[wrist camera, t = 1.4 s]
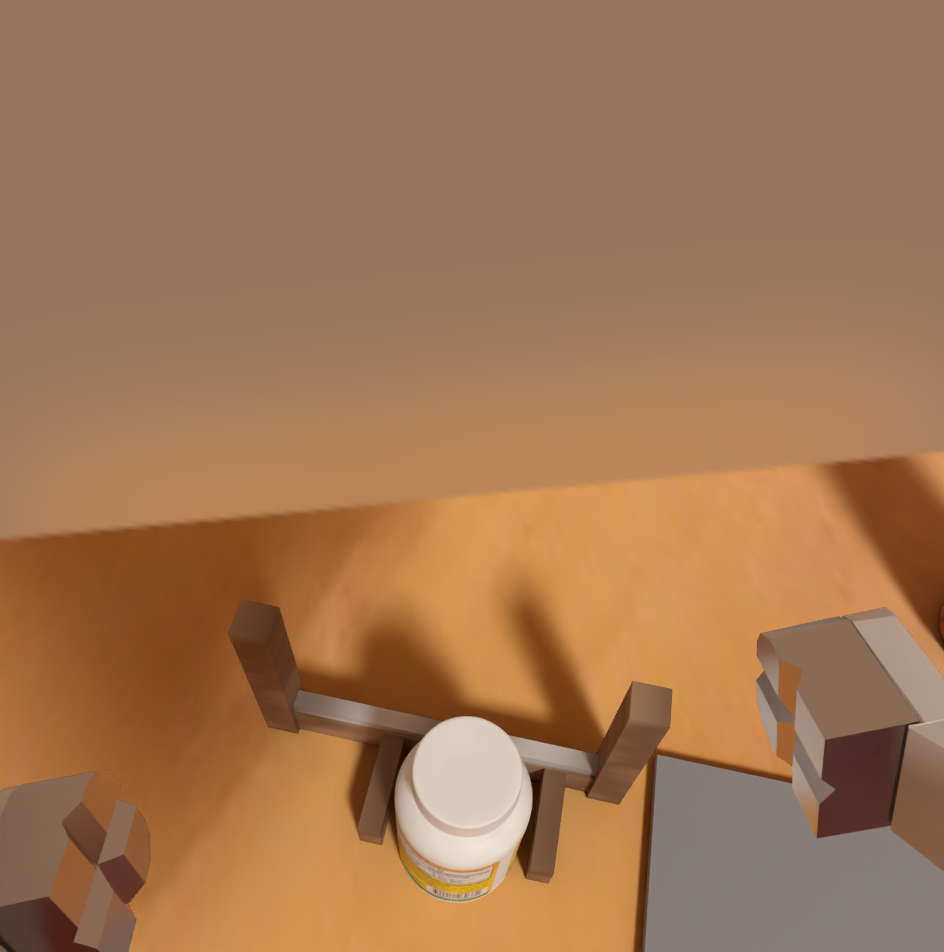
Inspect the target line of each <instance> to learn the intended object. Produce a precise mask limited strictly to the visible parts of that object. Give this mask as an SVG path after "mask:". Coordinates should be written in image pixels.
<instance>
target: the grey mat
mask: <svg viewBox="0 0 944 952" xmlns="http://www.w3.org/2000/svg"><path fill="white" fill-rule="evenodd" d="M890 829H891V826H887V827H881V828H875V829H869V830H863V831H857V832H851V833H846V834H840V835H834V836H828V837H822V838H816V836H815V834H814V832H813V830H812V828H811V826H810V824H809V822H808V820H807V818H806V816H805V814H804V812H803V810H802V808H801V806H800V804H799V801H798V799H797V797H796V795H795V793H794V791H793V789H792V783H788V782H783V781H778V780H774V779H769V778H765V777H760V776H755V775H751V774H746V773H741V772H737V771H732V770H727V769H723V768H718V767H713V766H709V765H704V764H699V763H695V762H690V761H686V760H681V759H676V758H672V757H667V756H662V755H658V754H657V756H656V757H655V760H654V775H653V790H652V805H651V820H650V835H649V850H648V865H647V881H646V896H645V911H644V926H643V941H642V952H944V871H942V870H941V869H940V868H939V867H937V866H936V865H935V864H933V863H932V862H931V861H930V860H928V859H927V858H926V857H925V856H923V855H922V854H921V853H919V852H918V851H917V850H916V849H914V848H913V847H912V846H910V845H909V844H908V843H907V842H905V841H904V840H903V839H902V838H900V837H899V836H898V835H896V834H895V833H894V832H893V831H891V830H890Z"/></svg>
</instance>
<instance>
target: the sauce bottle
mask: <svg viewBox="0 0 944 952" xmlns="http://www.w3.org/2000/svg"><path fill="white" fill-rule="evenodd" d="M939 626H940V628H939V629H940V632H941V635H942V638H943V640H944V605H943V606H942V612H941V615H940V624H939Z"/></svg>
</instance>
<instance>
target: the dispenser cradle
mask: <svg viewBox="0 0 944 952" xmlns="http://www.w3.org/2000/svg"><path fill="white" fill-rule="evenodd" d="M228 634H229V637H230V639H231V641H232V644H233V646H234V648H235V651H236V653H237V655H238V658H239V660H240V662H241V665H242V667H243V669H244V672H245V674H246V676H247V679H248V681H249V683H250V686H251V688H252V690H253V693H254V695H255V697H256V700H257V702H258V704H259V707H260V709H261V711H262V714H263V716H264V718H265V721H266V723H267V725H268V727H271V728H275V729H280V730H284V731H289V732H293V733H298V732H299V729H304V730H308V731H313V732H317V733H322V734H327V735H331V736H336V737H340V738H345V739H349V740H354V741H358V742H363V743H367V744H372V745H376V746H380V747H379V751H378V755H377V758H376V762H375V765H374V769H373V773H372V776H371V780H370V784H369V787H368V791H367V795H366V798H365V802H364V806H363V809H362V813H361V817H360V820H359V824H358V827H357V830H358V834H359V837H360V840H362V841H366V842H370V843H375V844H379V845H382V843H383V839H384V835H385V831H386V827H387V823H388V819H389V815H390V811H391V807H392V803H393V799H394V796H395V786H396V781H397V777H398V774H399V771H400V768H401V766H402V764H403V760H404V756H405V752H408V753H410V751H411V750H412V749H413V748H414V747H415V746H416V745H417V744H418V743H419V742H420V741H421V740H422V738H423V737H424V736H425V735H426V734H427V733H428V732H429V731H430V730H431V729H432V728H433V727H435V726H436V725H438V724H439V723H441V722H443V721H441V720H436V719H431V718H427V717H422V716H418V715H413V714H408V713H404V712H399V711H394V710H390V709H385V708H381V707H376V706H371V705H367V704H362V703H357V702H353V701H348V700H344V699H339V698H334V697H330V696H325V695H321V694H316V693H311V692H307V691H304V689H303V686H302V682H301V679H300V676H299V672H298V669H297V666H296V662H295V659H294V656H293V652H292V649H291V646H290V642H289V639H288V636H287V633H286V629H285V626H284V623H283V619H282V616H281V613H280V609H279V607H275V606H270V605H265V604H260V603H256V602H251V601H246V600H242V602H241V605H240V607H239V609H238V612H237V614H236V616H235V619H234V621H233V624H232V626H231V628H230V631H229V633H228ZM671 703H672V689H669V688H664V687H660V686H655V685H650V684H645V683H640V682H636V681H632V683H631V685H630V687H629V689H628V691H627V693H626V695H625V697H624V699H623V701H622V703H621V705H620V707H619V709H618V711H617V713H616V715H615V717H614V719H613V721H612V723H611V725H610V727H609V729H608V731H607V734H606V736H605V738H604V740H603V742H602V744H601V746H600V748H599V750H598V752H597V754H593V753H588V752H584V751H579V750H575V749H570V748H565V747H561V746H556V745H551V744H547V743H542V742H538V741H533V740H528V739H524V738H519V737H515V736H510V735H508V736H509V737H510V738H511V739H512V741H513V742H514V744H515V746H516V748H517V750H518V752H519V755H520V757H521V759H522V760H523V762H524V764H525V766H526V768H527V771H528V774H529V777H530V780H535V781H540V785H539V792H538V798H537V805H536V812H535V818H534V825H533V832H532V838H531V845H530V852H529V858H528V865H527V872H526V879H530V880H535V881H539V882H543V883H547V884H548V883H549V881H550V879H551V878H552V876H553V874H554V868H555V860H556V852H557V845H558V837H559V829H560V822H561V814H562V806H563V799H564V791H565V787H567V788H571V789H576V790H580V791H585V792H587V798H591V799H596V800H600V801H605V802H609V803H614V804H620V802H621V801H622V799H623V798H624V796H625V795H626V793H627V792H628V790H629V789H630V787H631V785H632V784H633V782H634V781H635V779H636V778H637V776H638V775H639V773H640V772H641V770H642V769H643V767H644V766H645V764H646V763H647V761H648V760H649V758H650V757H651V755H652V754H653V752H654V751H655V749H656V748H657V746H658V745H659V743H660V742H661V740H662V739H663V737H664V736H665V734H666V733H667V731H668V730H669V728H670V721H671Z"/></svg>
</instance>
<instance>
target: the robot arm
mask: <svg viewBox="0 0 944 952" xmlns="http://www.w3.org/2000/svg"><path fill="white" fill-rule="evenodd" d="M757 657H758V659H759V661H760V663H761V665H762V667H763V669H764V672H763V673H762V674H761V675H760V677H759V678H758V679H757V680H756V683H757V701H758V706H759V711H760V715H761V720H762V723H763V726H764V728H765V731H766V734H767V737H768V739H769V741H770V743H771V745H772V747H773V750H774V752H775V754H776V756H778V757H779V758H781V759H782V760H784V761H785V762H787V763H788V764H790V765H791V766H793V771H792V789H793V791H794V793H795V795H796V797H797V799H798V801H799V804H800V806H801V808H802V810H803V812H804V814H805V816H806V818H807V820H808V822H809V824H810V826H811V828H812V830H813V832H814V834H815V836H816V838H822V837H828V836H834V835H840V834H846V833H851V832H857V831H863V830H869V829H875V828H881V827H887V826H891V829H890V830H891V831H893V832H894V833H895V834H896V835H898V836H899V837H900V838H902V839H903V840H904V841H905V842H907V843H908V844H909V845H910V846H912V847H913V848H914V849H916V850H917V851H918V852H919V853H921V854H922V855H923V856H925V857H926V858H927V859H928V860H930V861H931V862H932V863H933V864H935V865H936V866H937V867H939V868H940V869H941V870H942V871H944V677H943V676H942V675H941V673H940V672H939V671H938V670H937V668H936V667H935V666H934V664H933V663H932V662H931V660H930V659H929V658H928V657H927V655H926V654H925V653H924V651H923V650H922V649H921V647H920V646H919V645H918V643H917V642H916V641H915V640H914V638H913V637H912V636H911V634H910V633H909V632H908V630H907V629H906V628H905V627H904V625H903V624H902V623H901V621H900V620H899V619H898V617H897V616H896V615H895V614H894V612H892V611H890V610H889V609H887V608H885V607H883V608H879V609H874V610H869V611H864V612H859V613H855V614H850V615H845V616H842V617H839V616H837V617H833V618H828V619H823V620H819V621H814V622H810V623H805V624H801V625H796V626H792V627H787V628H782V629H778V630H773V631H769V632H764V633H760V635H759V637H758V640H757ZM120 788H121V785H120V784H119V782H118V781H117V780H116V779H115V778H114V776H113V775H112V774H111V773H110V771H109V770H104V771H96V772H90V773H84V774H79V775H73V776H68V777H62V778H56V779H51V780H45V781H40V782H34V783H28V784H23V785H19V786H14V787H8V788H3V789H0V952H128V951H129V947H130V943H131V939H132V935H133V931H134V927H135V923H136V917H135V915H134V913H133V911H132V909H131V907H130V905H129V902H130V901H131V900H132V899H133V898H134V896H135V895H136V894H137V893H138V891H139V890H140V889H141V888H142V886H143V885H144V884H145V882H146V878H147V873H148V869H149V864H150V860H151V857H150V834H149V831H148V828H147V825H146V821H145V819H144V817H143V816H142V814H141V813H140V811H139V810H138V808H137V807H136V806H133V805H131V804H128V803H126V802H124V801H121V800H119V799H117V798H118V795H119V791H120Z"/></svg>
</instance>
